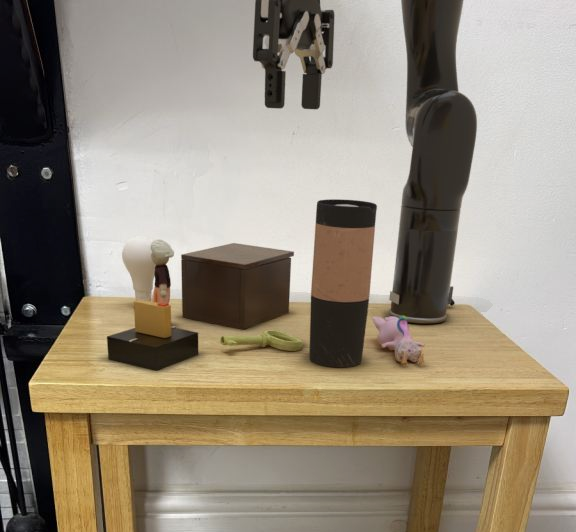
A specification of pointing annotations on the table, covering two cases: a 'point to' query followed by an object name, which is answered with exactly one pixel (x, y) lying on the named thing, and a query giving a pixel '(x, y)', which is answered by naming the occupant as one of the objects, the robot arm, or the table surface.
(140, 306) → the lock knob
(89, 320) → the table surface
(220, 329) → the table surface
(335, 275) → the travel mug
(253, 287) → the box
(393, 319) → the pink toy animal
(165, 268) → the grandmother figurine
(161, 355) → the plate
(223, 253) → the lockbox lid
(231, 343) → the key
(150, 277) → the lightbulb
